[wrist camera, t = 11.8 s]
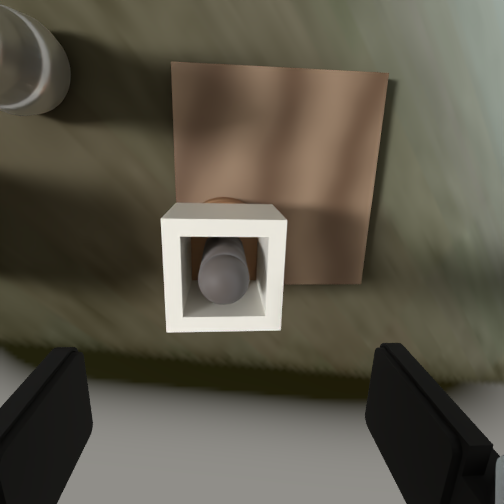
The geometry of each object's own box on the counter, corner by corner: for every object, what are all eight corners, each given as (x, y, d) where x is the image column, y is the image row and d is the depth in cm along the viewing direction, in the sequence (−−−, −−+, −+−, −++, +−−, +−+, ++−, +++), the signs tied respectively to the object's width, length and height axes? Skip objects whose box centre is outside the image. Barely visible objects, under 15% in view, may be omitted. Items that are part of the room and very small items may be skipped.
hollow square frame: (272, 204, 24) (287, 220, 19) (268, 291, 26) (280, 330, 21) (176, 202, 24) (160, 218, 18) (179, 292, 26) (166, 332, 20)
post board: (380, 77, 27) (509, 14, 15) (355, 278, 33) (435, 355, 20) (173, 66, 26) (127, -13, 14) (181, 278, 31) (153, 362, 19)
